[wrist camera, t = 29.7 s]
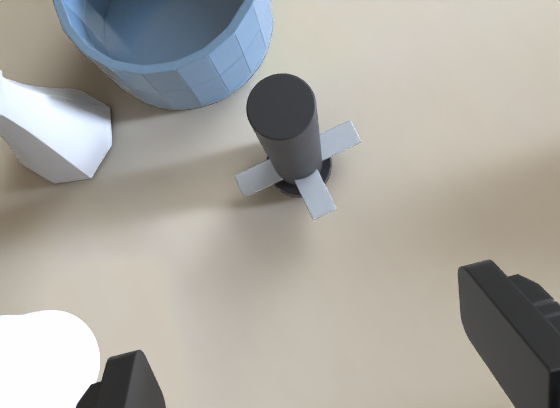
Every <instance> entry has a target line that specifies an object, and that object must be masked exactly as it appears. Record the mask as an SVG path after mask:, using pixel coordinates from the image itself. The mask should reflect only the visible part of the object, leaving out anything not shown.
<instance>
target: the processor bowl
mask: <svg viewBox="0 0 560 408" xmlns="http://www.w3.org/2000/svg"><path fill="white" fill-rule="evenodd" d="M53 2H54V6H55V9H56V12H57V14H58V17H59V20H60V23H61V25H62V28H63V31H64V32H65V33H66V34H67V36H68V37H69V38H70V39H71V40H72V42H73V43H74V44H75V45H76V46H77V47H78V49H79V50H80V51H81V52H82V53H83V54H84V55H85V56H86V57H87V58H88V59H89V60H90V61H92V62H93V63H94V64H95V65H96V66H97V67H98V68H99V69H101V70H102V71H103V72H104V73H105V74H106V75H107V76H108V77H109V78H111V79H112V80H113V81H114V82H115V83H116V84H117V85H118V86H119V87H121V88H122V89H123V90H124V91H126V92H128V93H129V94H131V95H132V96H133V97H135V98H136V99H138V100H140V101H142V102H144V103H146V104H149V105H152V106H155V107H159V108H163V109H170V110H189V109H195V108H200V107H204V106H207V105H210V104H213V103H215V102H218V101H220V100H222V99H224V98H226V97H227V96H229V95H230V94H232V93H234V92H235V91H236V90H238V89H239V88H240V87H241V86H242V85H244V84H245V83H246V82H247V80H248V79H249V78H250V77H251V76H252V75H253V74H254V72H255V71H256V70H257V68H258V67H259V65H260V64H261V62H262V60H263V58H264V57H265V54H266V52H267V49H268V47H269V44H270V40H271V36H272V29H273V10H272V3H271V0H53Z"/></svg>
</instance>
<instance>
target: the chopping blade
mask: <svg viewBox="0 0 560 408" xmlns="http://www.w3.org/2000/svg"><path fill="white" fill-rule="evenodd" d="M246 111H247V117H248V120H249V122H250V124H251V126H252V128H253V130H254V132H255V133H256V135H257V137H258V139H259V141H260V143H261V144H262V146H263V148H264V150H265V152H266V154H267V155H268V156H267V160H266V161H264V162H262V163H260V164H258V165H256V166H254V167H252V168H250V169H247V170H245V171H243V172H241V173H239V174H237V175H235V178H236V180H237V183H238V185H239V187H240V189H241V191H242V194H243V196H244V197H245V198H246V197H248V196H250V195H252V194H254V193H256V192H258V191H260V190H263V189H265V188H267V187H269V186H271V185H273V184H274V185H275V187H276V188H277V189H278V190H280V191H281V192H282V193H284V194H286V195H289V196H293V197H302V198H303V200H304V202H305V204H306V206H307V208H308V210H309V212H310V214H311V217H312V219H313V220H315V219H317V218H320V217H322V216H324V215H326V214H328V213H330V212H332V211H334V210H336V209H337V208H336V206H335V204H334V202H333V200H332V198H331V196H330V194H329V192H328V190H327V188H326V186H325V184H326V182H327V181H328V179H329V176H330V173H331V167H332V165H331V157H332V156H334V155H336V154H338V153H340V152H342V151H344V150H346V149H348V148H350V147H353V146H355V145H357V144H359V143H361V140H360V138H359V136H358V134H357V132H356V130H355V128H354V126H353V124H352V122H351V120H350V121H347V122H345V123H343V124H341V125H339V126H337V127H335V128H333V129H331V130H329V131H327V132H325V133H322V134H319V125H318V116H317V107H316V100H315V96H314V93H313V91H312V89H311V88H310V86H309V85H308V84H307V83H306V82H305V81H304V80H302V79H301V78H299V77H297V76H294V75H291V74H274V75H271V76H268V77H266V78H264V79H263V80H261V81H260V82H259V83H258V84H257V85H256V86H255V87H254V88H253V89H252V91H251V93H250V95H249V97H248V100H247V106H246Z"/></svg>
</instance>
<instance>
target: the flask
mask: <svg viewBox="0 0 560 408" xmlns="http://www.w3.org/2000/svg"><path fill="white" fill-rule="evenodd" d="M0 135H1V136H2V137H3V138H4V140H5V141H6V142H7V143H8V145H9V146H10V148H11V149H12V150H13V152H14V153H15V155H16V156H17V158H18V159H19V160H20V162H21V163H22V164H23V165H24V166H25V167H27V168H29V169H30V170H32V171H34V172H35V173H37V174H38V175H40V176H42V177H43V178H45V179H47V180H48V181H50V182H52V183H53V184H56V183H63V182H70V181H77V180H84V179H91V178H92V176H93V175H94V173H95V172H96V170H97V168H98V167H99V165H100V163H101V162H102V160H103V159H104V157H105V155H106V154H107V152H108V151H109V149H110V147H111V146H112V132H111V116H110V107H109V106H107V105H106V104H104V103H102V102H100V101H99V100H97V99H95V98H93V97H91V96H90V95H88V94H86V93H84V92H83V91H81V90H79V89H69V88H53V87H43V86H35V85H27V84H21V83H18V82H15V81H12V80H10V79H7V78H4V77H2V71H1V70H0Z"/></svg>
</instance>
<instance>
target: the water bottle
mask: <svg viewBox="0 0 560 408" xmlns="http://www.w3.org/2000/svg"><path fill="white" fill-rule="evenodd" d="M99 367H100V355H99V349H98V345H97V342H96V339H95V337H94V335H93V333H92V332H91V330H90V329H89V327H88V326H87V325H86V324H85V323H84V322H83V321H82V320H80V319H79V318H77V317H76V316H74V315H72V314H70V313H67V312H63V311H58V310H45V311H37V312H31V313H26V314H22V315H2V316H0V408H76V405H77V403H78V401H79V400H80V399H81V397H82V396H83V394H84V393H85V392H86V390H87V389H88V388H89V386H90V385H91V384H94V383H96V380H97V377H98V373H99Z"/></svg>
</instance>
